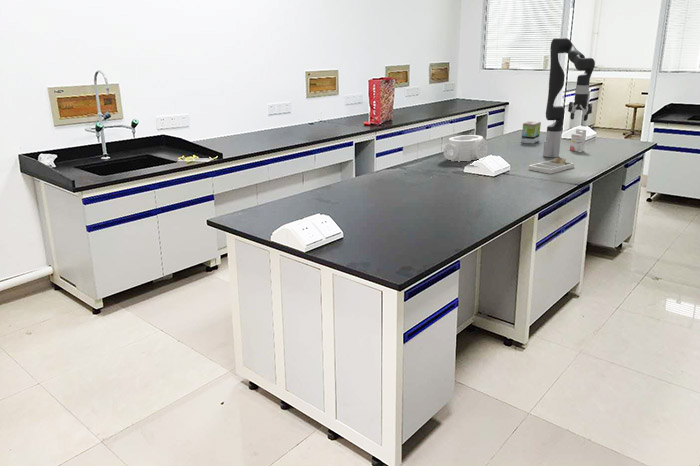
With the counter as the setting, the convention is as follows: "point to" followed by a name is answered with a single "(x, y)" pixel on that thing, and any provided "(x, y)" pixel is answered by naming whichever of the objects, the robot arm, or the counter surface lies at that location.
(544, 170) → the divider frame
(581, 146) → the ink cartridge box
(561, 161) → the beech letter block
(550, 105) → the robot arm
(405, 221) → the counter surface
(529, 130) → the tea box
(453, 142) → the housing
